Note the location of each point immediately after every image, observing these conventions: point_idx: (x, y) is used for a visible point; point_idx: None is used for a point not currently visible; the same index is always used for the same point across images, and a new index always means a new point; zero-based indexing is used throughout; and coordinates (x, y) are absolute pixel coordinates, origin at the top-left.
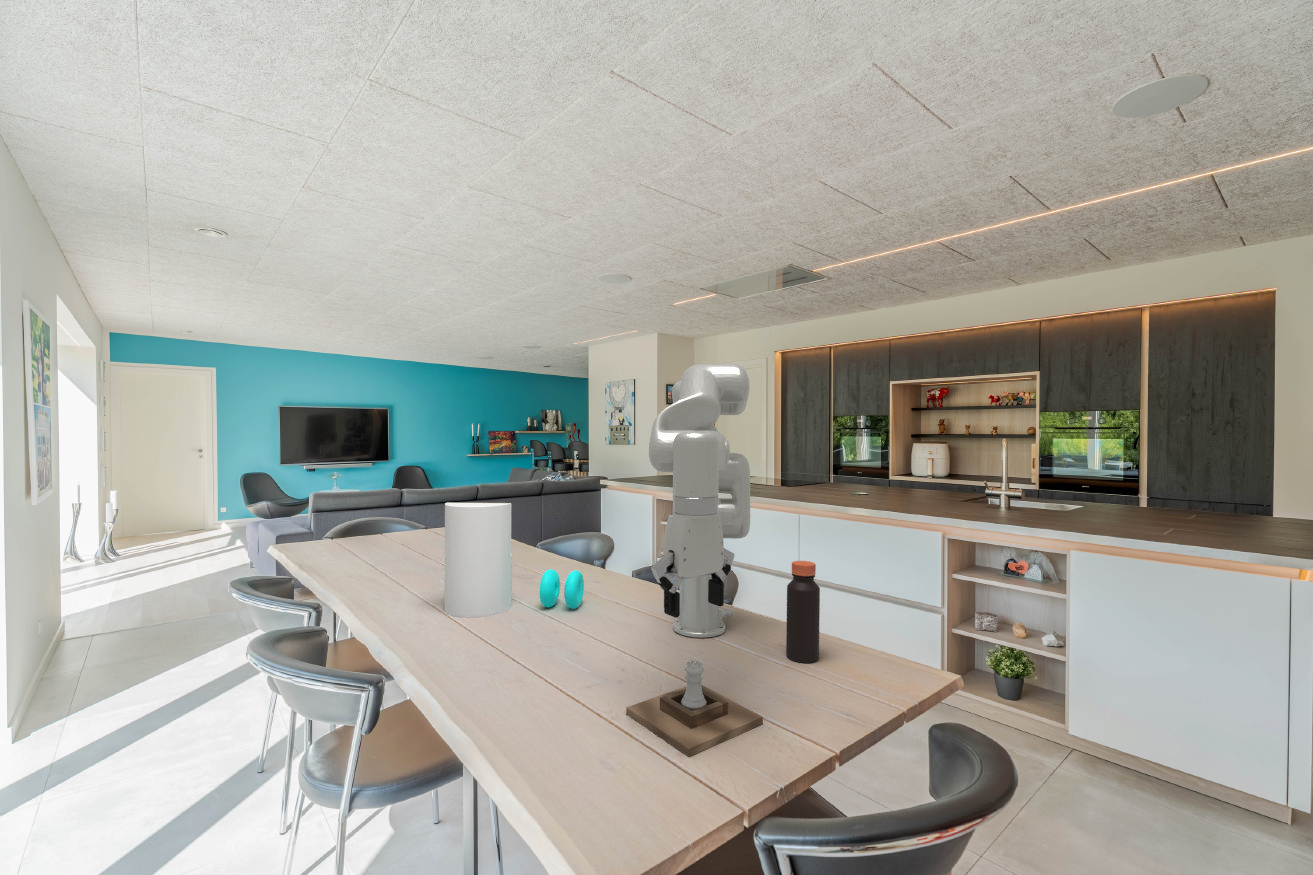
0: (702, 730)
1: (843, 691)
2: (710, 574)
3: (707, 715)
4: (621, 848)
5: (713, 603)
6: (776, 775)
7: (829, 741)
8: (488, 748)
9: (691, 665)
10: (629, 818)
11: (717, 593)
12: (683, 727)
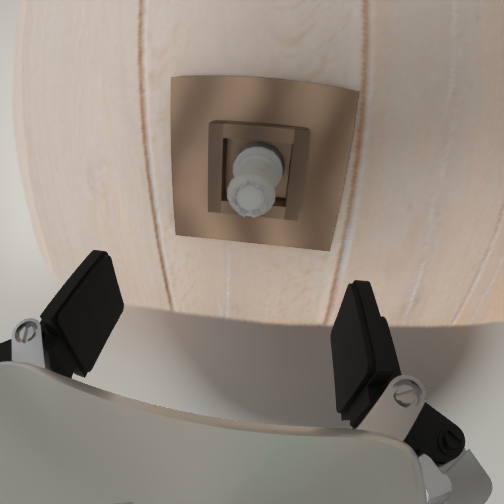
0: (224, 216)
1: (472, 268)
2: (365, 416)
3: None
4: None
5: (340, 308)
6: (237, 308)
7: None
8: (16, 79)
9: (235, 203)
10: (84, 257)
11: (338, 365)
12: (206, 190)
